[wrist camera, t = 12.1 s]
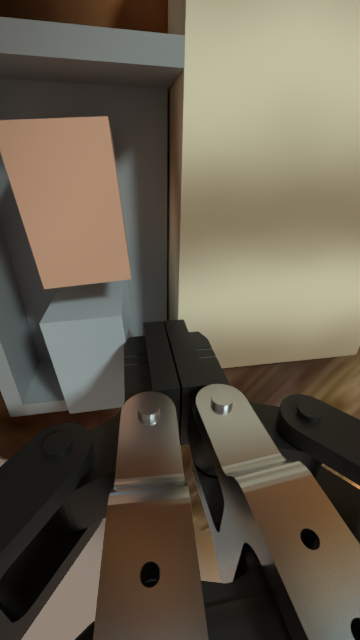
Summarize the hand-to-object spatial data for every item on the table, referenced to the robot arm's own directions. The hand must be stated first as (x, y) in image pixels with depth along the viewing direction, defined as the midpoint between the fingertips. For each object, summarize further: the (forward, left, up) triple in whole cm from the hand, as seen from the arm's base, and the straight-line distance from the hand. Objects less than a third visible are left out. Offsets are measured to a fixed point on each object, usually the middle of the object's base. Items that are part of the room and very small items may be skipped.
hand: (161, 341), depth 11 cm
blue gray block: (0, -1, -1) cm, 2 cm away
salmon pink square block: (-5, -1, -1) cm, 5 cm away
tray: (-3, -3, -4) cm, 5 cm away
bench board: (-5, +5, -4) cm, 8 cm away
